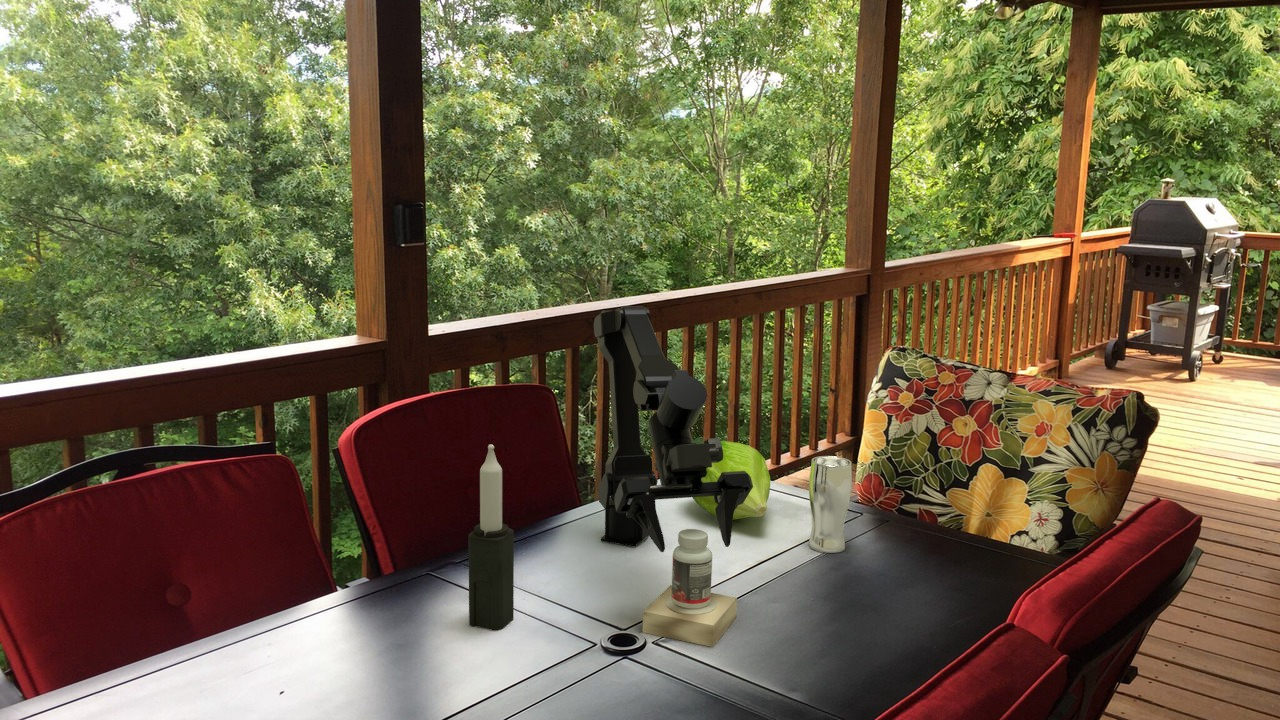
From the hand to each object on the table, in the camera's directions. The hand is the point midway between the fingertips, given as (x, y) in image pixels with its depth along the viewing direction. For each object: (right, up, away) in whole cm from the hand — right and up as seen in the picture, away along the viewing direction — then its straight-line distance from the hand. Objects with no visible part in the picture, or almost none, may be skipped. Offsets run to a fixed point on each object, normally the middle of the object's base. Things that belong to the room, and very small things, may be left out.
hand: (695, 548), depth 134 cm
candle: (-28, -11, +3) cm, 30 cm away
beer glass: (+24, -7, +35) cm, 43 cm away
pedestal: (-1, -11, +3) cm, 12 cm away
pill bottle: (-1, -8, +3) cm, 9 cm away
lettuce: (+9, -4, +48) cm, 49 cm away
